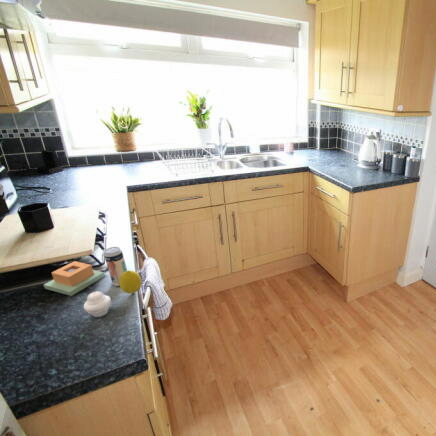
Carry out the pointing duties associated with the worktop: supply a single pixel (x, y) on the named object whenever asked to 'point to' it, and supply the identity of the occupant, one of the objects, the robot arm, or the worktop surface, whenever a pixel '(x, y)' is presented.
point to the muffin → (97, 304)
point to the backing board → (76, 288)
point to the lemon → (130, 282)
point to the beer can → (115, 264)
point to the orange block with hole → (73, 273)
